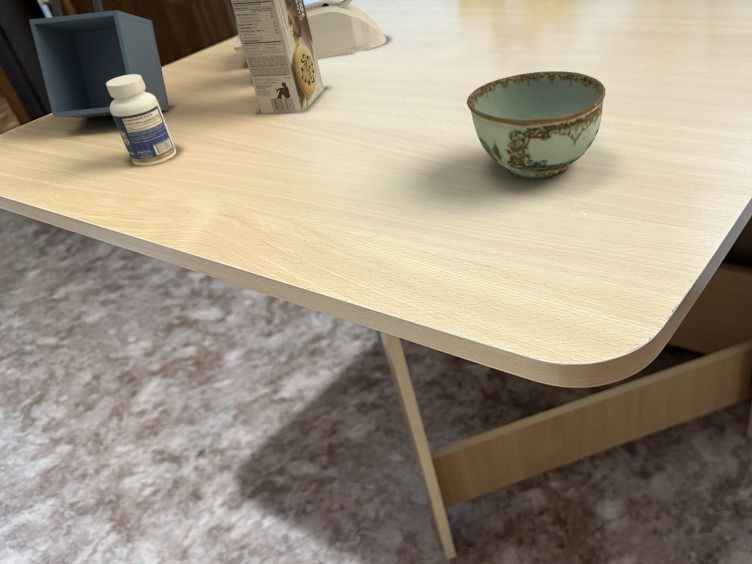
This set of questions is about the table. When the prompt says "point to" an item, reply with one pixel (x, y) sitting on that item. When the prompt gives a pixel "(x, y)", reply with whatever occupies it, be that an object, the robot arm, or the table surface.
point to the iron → (338, 29)
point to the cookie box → (278, 53)
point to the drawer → (95, 58)
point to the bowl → (537, 120)
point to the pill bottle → (140, 121)
